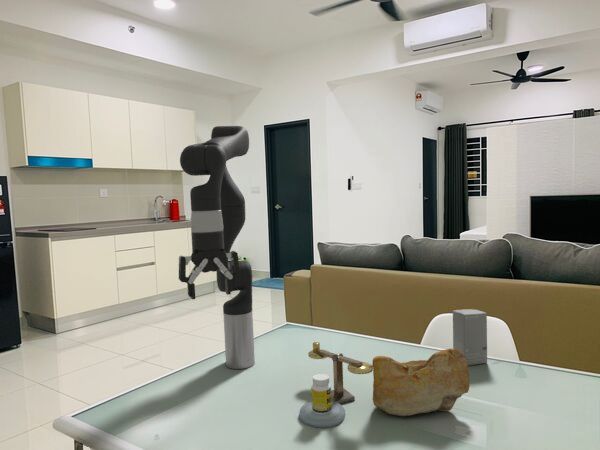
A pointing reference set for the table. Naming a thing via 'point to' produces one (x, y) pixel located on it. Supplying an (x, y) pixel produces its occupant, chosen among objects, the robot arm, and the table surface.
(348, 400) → the balance
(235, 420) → the table surface
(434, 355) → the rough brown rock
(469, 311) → the skincare box
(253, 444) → the table surface
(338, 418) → the dish
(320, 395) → the supplement bottle
